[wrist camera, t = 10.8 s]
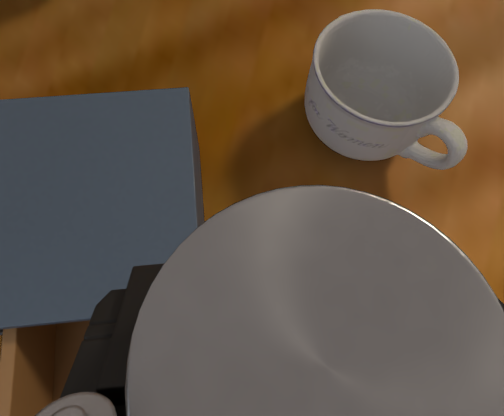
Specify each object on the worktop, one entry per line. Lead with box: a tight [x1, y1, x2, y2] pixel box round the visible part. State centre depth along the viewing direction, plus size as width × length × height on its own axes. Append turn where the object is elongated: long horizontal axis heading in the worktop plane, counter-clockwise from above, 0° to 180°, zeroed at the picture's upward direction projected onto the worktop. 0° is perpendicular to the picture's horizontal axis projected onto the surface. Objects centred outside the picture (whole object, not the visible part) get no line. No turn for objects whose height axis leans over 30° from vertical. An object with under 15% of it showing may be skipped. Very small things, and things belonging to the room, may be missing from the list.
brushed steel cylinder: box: [125, 185, 504, 416], centre depth 11 cm, size 5×5×12 cm
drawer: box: [0, 320, 90, 416], centre depth 25 cm, size 15×11×7 cm
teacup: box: [305, 9, 467, 170], centre depth 34 cm, size 14×11×8 cm
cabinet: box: [0, 87, 204, 335], centre depth 29 cm, size 15×13×9 cm
